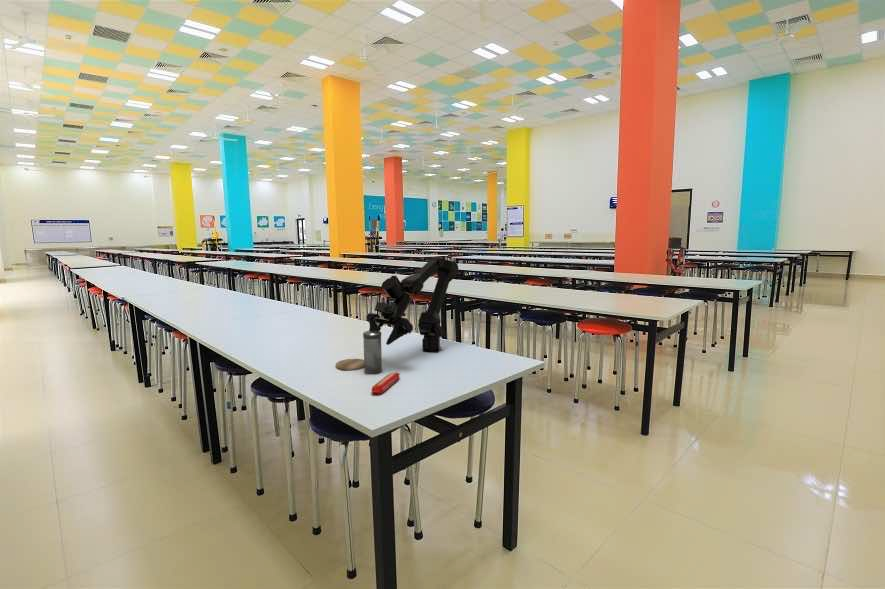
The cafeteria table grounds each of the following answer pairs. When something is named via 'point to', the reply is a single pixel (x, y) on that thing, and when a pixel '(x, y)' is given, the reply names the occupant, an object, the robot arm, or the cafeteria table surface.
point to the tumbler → (372, 352)
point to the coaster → (350, 364)
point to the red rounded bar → (385, 383)
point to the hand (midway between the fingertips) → (377, 342)
